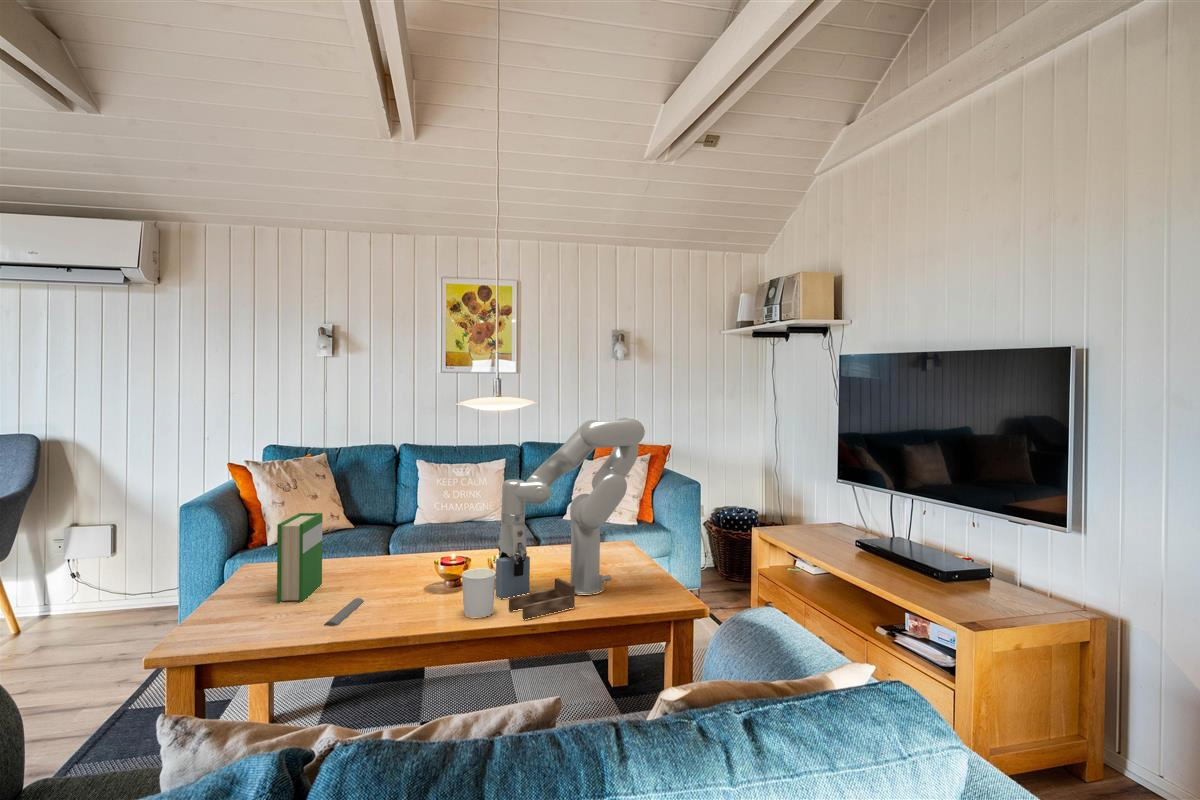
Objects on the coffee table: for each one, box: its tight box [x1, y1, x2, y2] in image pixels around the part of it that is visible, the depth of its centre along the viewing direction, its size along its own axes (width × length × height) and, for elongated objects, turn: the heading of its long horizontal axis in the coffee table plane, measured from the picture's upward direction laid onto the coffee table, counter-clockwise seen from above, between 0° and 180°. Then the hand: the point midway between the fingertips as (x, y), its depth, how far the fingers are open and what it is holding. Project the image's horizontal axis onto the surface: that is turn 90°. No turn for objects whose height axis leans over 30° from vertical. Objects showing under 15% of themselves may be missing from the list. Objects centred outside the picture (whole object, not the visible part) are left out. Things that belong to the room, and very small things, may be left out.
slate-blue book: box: [495, 555, 531, 600], centre depth 199 cm, size 10×4×12 cm, turn 126°
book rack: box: [508, 577, 576, 621], centre depth 186 cm, size 17×9×7 cm, turn 127°
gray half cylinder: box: [323, 597, 365, 627], centre depth 181 cm, size 4×20×2 cm, turn 179°
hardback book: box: [276, 512, 323, 604], centre depth 198 cm, size 18×7×24 cm, turn 6°
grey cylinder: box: [461, 567, 496, 618], centre depth 183 cm, size 10×10×12 cm
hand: (510, 571), depth 199 cm, fingers open, 9 cm apart
